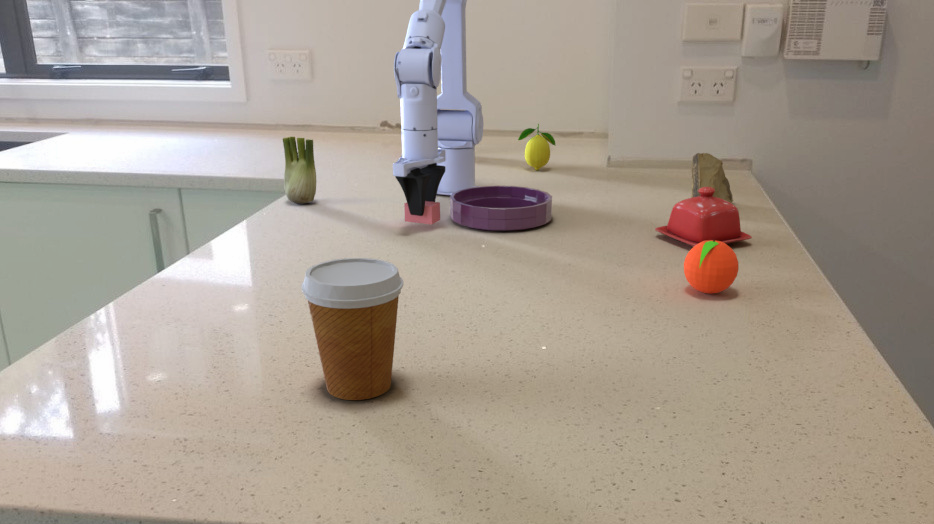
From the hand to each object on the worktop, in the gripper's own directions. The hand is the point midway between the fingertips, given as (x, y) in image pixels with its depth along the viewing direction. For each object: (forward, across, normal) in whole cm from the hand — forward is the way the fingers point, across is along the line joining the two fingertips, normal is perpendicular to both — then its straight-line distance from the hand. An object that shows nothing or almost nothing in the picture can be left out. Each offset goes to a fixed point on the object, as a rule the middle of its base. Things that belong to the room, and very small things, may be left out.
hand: (421, 212), depth 138 cm
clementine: (+3, -14, -49) cm, 51 cm away
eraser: (+1, 0, 0) cm, 1 cm away
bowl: (+2, +10, -10) cm, 14 cm away
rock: (+3, +34, -42) cm, 54 cm away
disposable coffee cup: (+3, -56, -22) cm, 60 cm away
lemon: (+3, +52, -1) cm, 52 cm away
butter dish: (+3, +11, -44) cm, 45 cm away
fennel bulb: (+3, +6, +28) cm, 29 cm away
